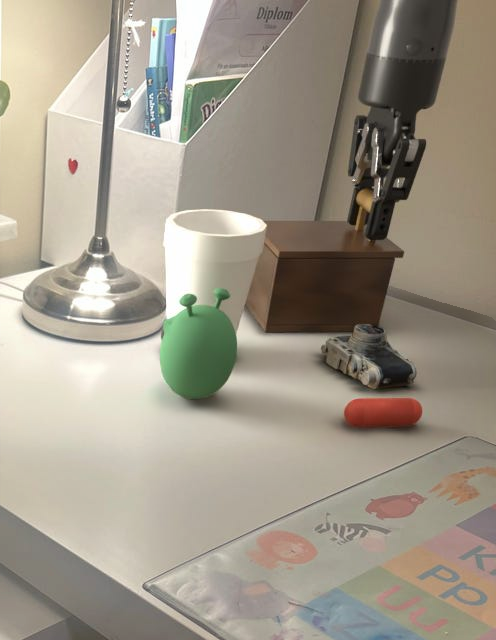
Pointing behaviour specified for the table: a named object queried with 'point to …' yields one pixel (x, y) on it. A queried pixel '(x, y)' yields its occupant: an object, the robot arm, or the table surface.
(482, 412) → the table surface
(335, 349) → the camera
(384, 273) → the bin
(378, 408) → the red pill shape
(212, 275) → the foam cup
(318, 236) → the bin lid
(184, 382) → the alien toy
